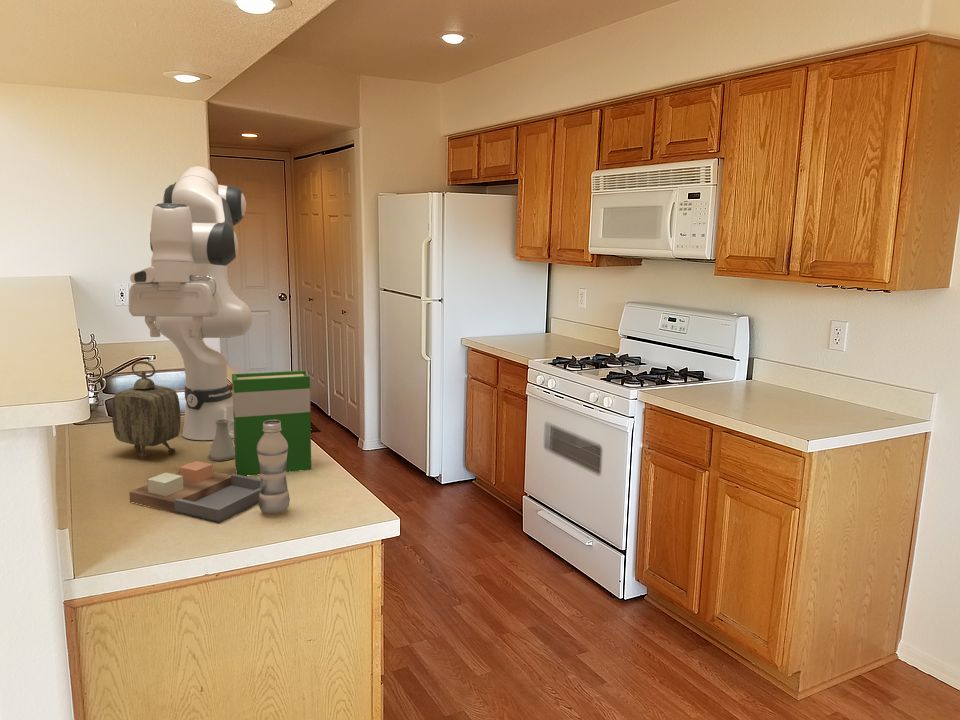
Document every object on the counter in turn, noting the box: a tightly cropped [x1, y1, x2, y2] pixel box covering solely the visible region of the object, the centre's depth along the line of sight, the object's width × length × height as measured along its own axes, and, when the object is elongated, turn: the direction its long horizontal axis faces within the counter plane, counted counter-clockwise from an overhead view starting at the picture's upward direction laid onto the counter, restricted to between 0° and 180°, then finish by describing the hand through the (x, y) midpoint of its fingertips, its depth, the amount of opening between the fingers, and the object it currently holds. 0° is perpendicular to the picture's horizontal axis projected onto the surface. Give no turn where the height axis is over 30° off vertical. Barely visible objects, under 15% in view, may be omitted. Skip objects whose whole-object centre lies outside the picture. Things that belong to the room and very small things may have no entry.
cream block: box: [147, 472, 183, 496], centre depth 161 cm, size 5×5×3 cm
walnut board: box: [129, 471, 232, 514], centre depth 166 cm, size 18×13×2 cm
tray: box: [174, 473, 261, 525], centre depth 161 cm, size 18×12×3 cm, turn 157°
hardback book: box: [231, 370, 312, 477], centre depth 182 cm, size 18×7×24 cm, turn 112°
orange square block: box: [179, 460, 214, 483], centre depth 169 cm, size 5×5×3 cm
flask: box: [207, 419, 235, 462], centre depth 191 cm, size 7×7×10 cm
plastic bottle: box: [257, 420, 291, 515], centre depth 155 cm, size 6×7×20 cm
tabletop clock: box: [111, 360, 182, 459], centre depth 189 cm, size 14×9×25 cm, turn 75°
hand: (174, 337), depth 165 cm, fingers open, 8 cm apart
